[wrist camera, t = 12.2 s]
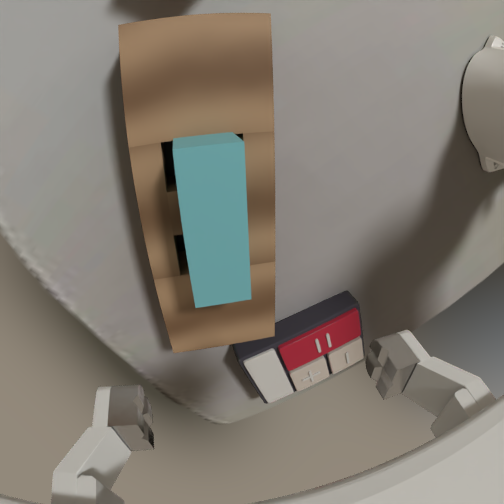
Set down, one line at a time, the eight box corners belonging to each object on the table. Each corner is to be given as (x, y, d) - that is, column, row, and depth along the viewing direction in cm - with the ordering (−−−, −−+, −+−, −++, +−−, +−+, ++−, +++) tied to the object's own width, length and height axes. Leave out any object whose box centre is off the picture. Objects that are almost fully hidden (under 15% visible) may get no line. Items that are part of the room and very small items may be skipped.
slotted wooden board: (128, 35, 19) (118, 25, 15) (254, 24, 21) (270, 13, 17) (172, 322, 33) (173, 353, 29) (263, 308, 35) (274, 336, 31)
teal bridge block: (173, 130, 23) (172, 149, 16) (224, 125, 24) (244, 141, 17) (188, 252, 29) (195, 308, 22) (232, 246, 29) (251, 299, 23)
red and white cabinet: (367, 359, 39) (267, 409, 38) (353, 339, 43) (257, 385, 42) (362, 305, 34) (238, 365, 33) (344, 284, 37) (229, 338, 36)
